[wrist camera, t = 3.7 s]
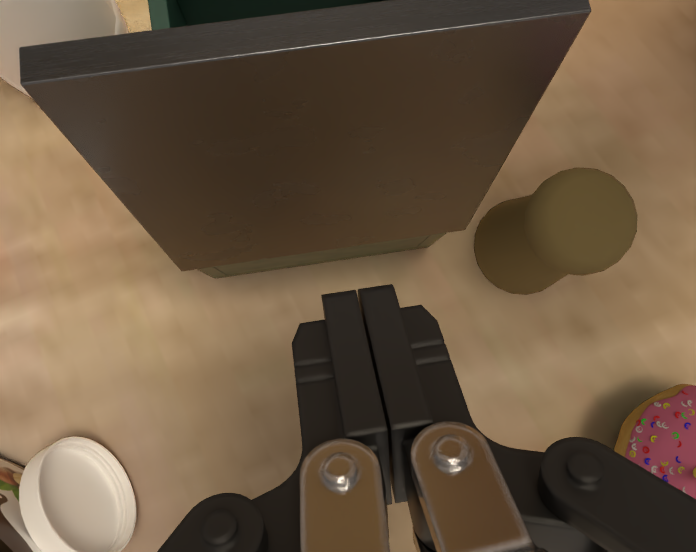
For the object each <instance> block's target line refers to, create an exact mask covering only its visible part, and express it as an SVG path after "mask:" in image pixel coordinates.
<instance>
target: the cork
mask: <svg viewBox="0 0 696 552" xmlns="http://www.w3.org/2000/svg"><path fill="white" fill-rule="evenodd" d="M636 232H637V213H636V209H635V205H634V201H633V199H632V197H631V196H630V194H629V193H628V191H627V189H626V188H625V186H624V185H623V184H621V183H620V182H619V181H618V180H617V179H615V178H614V177H613V176H612V175H610V174H607V173H605V172H602V171H600V170H598V169H590V168H573V169H569V170H564V171H560V172H558V173H557V174H555V175H553V176H552V177H550V178H548V179H547V180H545V181H544V182H543V183H542V184H541V185H540V186H539V187H538V188H537V190H536V191H535V192H534V193H533V194H532V195H530V196H525V197H521V198H517V199H513V200H508V201H504V202H502V203H500V204H498V205H497V206H495V207H493V208H492V209H490V210H489V212H488V213H487V214H486V215H485V216H484V217H483V219H482V220H481V221H480V224H479V226H478V229H477V231H476V234H475V243H474V251H475V255H476V259H477V263H478V266H479V267H480V269H481V270H482V272H483V274H484V275H485V277H486V278H487V279H488V280H489V281H491V282H492V283H493V284H494V285H495V286H496V287H498V288H500V289H502V290H505V291H507V292H510V293H513V294H525V295H527V294H531V293H536V292H540V291H542V290H544V289H546V288H547V287H549V286H550V285H552V284H554V283H555V282H557V281H558V280H560V279H561V278H563V277H564V276H566V275H568V274H571V275H588V274H592V273H596V272H601V271H604V270H606V269H607V268H609V267H610V266H612V265H614V264H615V263H617V262H618V261H619V260H620V259H621V258H622V257H623V256H624V254H625V253H626V252H627V251H628V249H629V248H630V247H631V245H632V242H633V240H634V237H635V234H636Z"/></svg>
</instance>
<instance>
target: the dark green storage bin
mask: <svg viewBox="0 0 696 552" xmlns="http://www.w3.org/2000/svg"><path fill="white" fill-rule="evenodd" d="M380 1H388V0H148V5H149V12H150V20H151V27H152V30H159V29H166V28H174V27H182V26H190V25H198V24H206V23H214V22H222V21H230V20H238V19H246V18H254V17H262V16H269V15H277V14H285V13H293V12H301V11H309V10H317V9H325V8H333V7H341V6H349V5H357V4H365V3H372V2H380ZM444 234H446V233H440V234H433V235H427V236H420V237H413V238H406V239H399V240H392V241H386V242H379V243H372V244H365V245H358V246H351V247H345V248H338V249H331V250H324V251H317V252H310V253H304V254H297V255H290V256H283V257H276V258H269V259H263V260H256V261H249V262H242V263H235V264H228V265H221V266H215V267H208V268H201V269H198V270H200V271H202V272H203V273H205V274H207V275H209V276H211V277H213V278H222V277H229V276H235V275H242V274H249V273H256V272H263V271H269V270H276V269H283V268H290V267H297V266H303V265H310V264H317V263H324V262H330V261H337V260H344V259H351V258H358V257H364V256H371V255H378V254H385V253H392V252H398V251H405V250H412V249H419V248H426V247H429V246H430V245H432V244H433V243H434V242H435V241H437V240H438V239H439V238H441V237H442V236H443V235H444Z"/></svg>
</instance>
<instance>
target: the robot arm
mask: <svg viewBox="0 0 696 552" xmlns="http://www.w3.org/2000/svg"><path fill="white" fill-rule="evenodd" d="M358 300H359V301H358ZM322 303H323V310H324V318H325V320H319V321H313V322H306V323H300V325H299V327H298V330H297V332H296V334H295V337H294V339H293V342H292V349H293V359H294V367H295V378H296V388H297V397H298V407H299V416H300V426H301V436H302V456H301V459H300V462H299V464H298V466H297V468H296V470H295V471H294V472H293V474H292V475H291V476H290V477H289V478H288V479H287V480H286V481H285V482H284V483H282V484H281V485H280V486H278V487H276V488H274V489H273V490H271V491H269V492H267V493H265V494H263V495H261V496H259V497H257V498H255V499H253V500H250V499H249V498H247V497H245V496H243V495H240V494H235V493H222V494H217V495H213V496H211V497H208V498H206V499H204V500H203V501H201V502H199V503H198V504H197V505H196V506H195V507H193V508H192V509H191V511H190V512H189V513H188V514H187V515H186V516H185V518H184V519H183V520H182V521H181V523H180V524H179V525H178V526H177V528H176V529H175V530H174V531H173V533H172V534H171V535H170V536H169V538H168V539H167V540H166V542H165V543H164V544H163V545H162V547H161V548H160V549H159V550H158V552H390V548H389V529H388V514H387V505H389V504H392V497H391V485H392V490H393V495H394V499H395V503H400V502H405V501H408V506H409V510H410V514H411V519H412V523H413V540H414V544H415V548H416V551H417V552H696V499H695V498H693V497H691V496H690V495H688V494H686V493H684V492H683V491H681V490H679V489H678V488H676V487H674V486H673V485H671V484H669V483H668V482H666V481H664V480H663V479H661V478H659V477H657V476H656V475H654V474H652V473H651V472H649V471H647V470H646V469H644V468H642V467H641V466H639V465H637V464H636V463H634V462H632V461H630V460H629V459H627V458H625V457H624V456H622V455H620V454H619V453H617V452H615V451H614V450H612V449H610V448H608V447H607V446H605V445H603V444H601V443H599V442H597V441H594V440H591V439H587V438H582V437H569V438H564V439H561V440H559V441H556V442H555V443H553V444H552V445H551V446H549V447H548V448H547V450H546V451H545V453H544V452H537V451H529V450H521V449H514V448H509V447H506V446H503V445H500V444H498V443H496V442H493V441H492V440H490V439H489V438H487V437H486V436H485V435H483V434H482V433H481V432H480V431H479V430H478V429H477V427H476V426H475V424H474V423H473V421H472V419H471V416H470V414H469V411H468V408H467V405H466V402H465V399H464V396H463V394H462V391H461V388H460V385H459V382H458V379H457V376H456V373H455V371H454V368H453V365H452V362H451V360H450V357H449V353H448V350H447V348H446V345H445V344H444V339H443V336H442V333H441V330H440V328H439V325H438V322H437V320H436V319H435V318H434V317H433V316H432V315H431V314H430V313H429V312H428V311H427V310H426V309H425V308H424V307H423V306H422V305H417V306H410V307H404V308H400V306H399V303H398V299H397V296H396V293H395V289H394V286H393V285H392V284H390V285H383V286H376V287H370V288H363V289H358V297H357V293H356V290H351V291H344V292H337V293H331V294H324V295H322Z"/></svg>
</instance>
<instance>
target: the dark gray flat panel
mask: <svg viewBox="0 0 696 552" xmlns="http://www.w3.org/2000/svg"><path fill="white" fill-rule="evenodd" d="M590 12H591V7H590V4H589V1H588V0H388V1H380V2H372V3H365V4H357V5H349V6H341V7H333V8H325V9H317V10H309V11H301V12H293V13H285V14H277V15H269V16H262V17H254V18H246V19H238V20H230V21H222V22H214V23H206V24H198V25H190V26H182V27H174V28H166V29H159V30H151V31H143V32H135V33H127V34H119V35H111V36H103V37H95V38H87V39H79V40H71V41H63V42H56V43H48V44H40V45H32V46H24V47H20V48H19V60H20V84H21V86H22V87H23V88H24V89H25V90H26V92H27V93H28V94H29V95H30V96H31V97H32V99H33V100H34V101H35V102H36V103H37V104H38V105H39V107H40V108H41V109H42V110H43V111H44V112H45V114H46V115H47V116H48V117H49V118H50V119H51V121H52V122H53V123H54V124H55V125H56V126H57V128H58V129H59V130H60V131H61V132H62V133H63V134H64V136H65V137H66V138H67V139H68V140H69V141H70V143H71V144H72V145H73V146H74V147H75V148H76V150H77V151H78V152H79V153H80V154H81V155H82V156H83V158H84V159H85V160H86V161H87V162H88V163H89V165H90V166H91V167H92V168H93V169H94V170H95V172H96V173H97V174H98V175H99V176H100V177H101V179H102V180H103V181H104V182H105V183H106V184H107V185H108V187H109V188H110V189H111V190H112V191H113V192H114V194H115V195H116V196H117V197H118V198H119V199H120V201H121V202H122V203H123V204H124V205H125V206H126V208H127V209H128V210H129V211H130V212H131V213H132V214H133V216H134V217H135V218H136V219H137V220H138V221H139V223H140V224H141V225H142V226H143V227H144V228H145V230H146V231H147V232H148V233H149V234H150V235H151V236H152V238H153V239H154V240H155V241H156V242H157V243H158V245H159V246H160V247H161V248H162V249H163V250H164V252H165V253H166V254H167V255H168V256H169V257H170V259H171V260H172V261H173V262H174V263H175V264H176V265H177V267H178V268H179V269H180V270H181V271H187V270H194V269H201V268H208V267H215V266H221V265H228V264H235V263H242V262H249V261H256V260H263V259H269V258H276V257H283V256H290V255H297V254H304V253H310V252H317V251H324V250H331V249H338V248H345V247H351V246H358V245H365V244H372V243H379V242H386V241H392V240H399V239H406V238H413V237H420V236H427V235H433V234H440V233H447V232H454V231H461V230H465V229H466V227H467V226H468V224H469V222H470V220H471V219H472V217H473V215H474V213H475V212H476V210H477V208H478V206H479V205H480V203H481V201H482V200H483V198H484V196H485V194H486V193H487V191H488V189H489V187H490V186H491V184H492V182H493V180H494V179H495V177H496V175H497V174H498V172H499V170H500V168H501V167H502V165H503V163H504V161H505V160H506V158H507V156H508V154H509V153H510V151H511V149H512V148H513V146H514V144H515V142H516V141H517V139H518V137H519V135H520V134H521V132H522V130H523V128H524V127H525V125H526V123H527V122H528V120H529V118H530V116H531V115H532V113H533V111H534V109H535V108H536V106H537V104H538V102H539V101H540V99H541V97H542V96H543V94H544V92H545V90H546V89H547V87H548V85H549V83H550V82H551V80H552V78H553V77H554V75H555V73H556V71H557V70H558V68H559V66H560V64H561V63H562V61H563V59H564V57H565V56H566V54H567V52H568V51H569V49H570V47H571V45H572V44H573V42H574V40H575V38H576V37H577V35H578V33H579V31H580V30H581V28H582V26H583V25H584V23H585V21H586V19H587V18H588V16H589V14H590Z"/></svg>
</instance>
